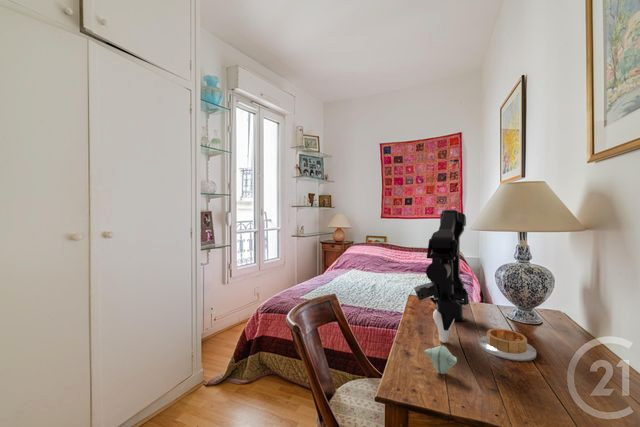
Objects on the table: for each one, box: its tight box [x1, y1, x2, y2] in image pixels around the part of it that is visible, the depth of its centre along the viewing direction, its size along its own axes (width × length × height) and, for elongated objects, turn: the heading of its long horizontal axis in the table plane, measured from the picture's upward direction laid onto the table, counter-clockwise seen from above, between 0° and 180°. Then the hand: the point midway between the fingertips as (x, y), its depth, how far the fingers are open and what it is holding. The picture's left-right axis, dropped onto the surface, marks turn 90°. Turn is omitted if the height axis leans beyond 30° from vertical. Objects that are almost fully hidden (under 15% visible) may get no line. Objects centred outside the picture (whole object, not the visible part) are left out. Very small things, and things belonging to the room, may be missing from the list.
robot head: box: [423, 345, 458, 375], centre depth 72 cm, size 8×4×7 cm, turn 47°
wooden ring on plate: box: [478, 328, 537, 362], centre depth 84 cm, size 14×14×4 cm
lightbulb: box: [432, 309, 455, 344], centre depth 89 cm, size 6×6×11 cm
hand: (443, 326), depth 89 cm, fingers closed on lightbulb, 6 cm apart
